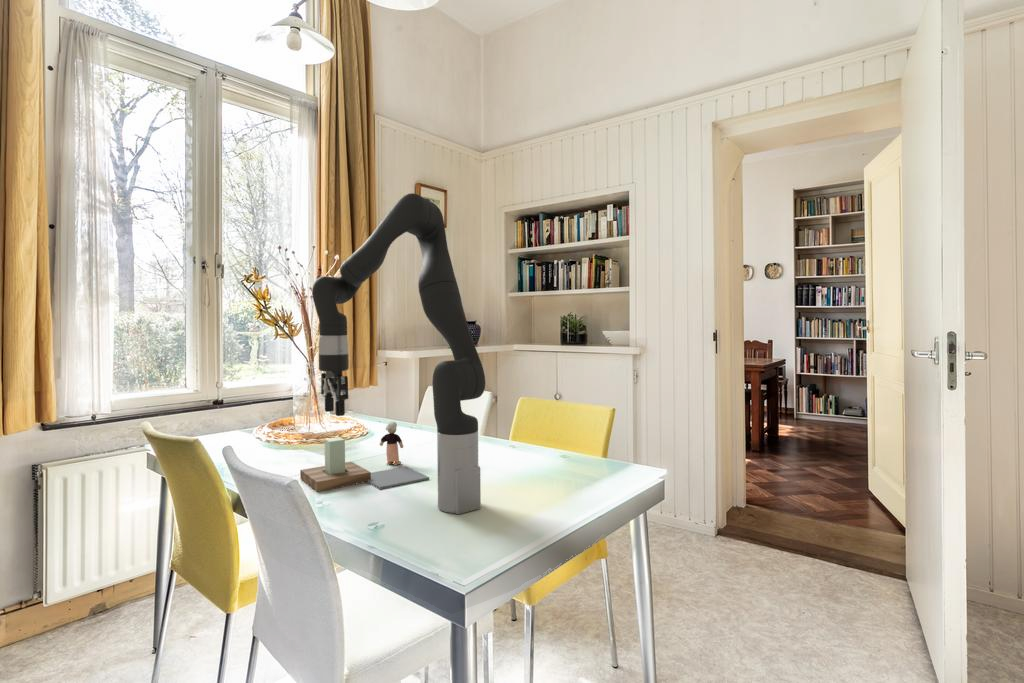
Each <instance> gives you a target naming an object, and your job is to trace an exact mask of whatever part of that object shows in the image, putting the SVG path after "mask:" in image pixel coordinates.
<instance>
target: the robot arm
mask: <svg viewBox="0 0 1024 683" xmlns="http://www.w3.org/2000/svg"><path fill="white" fill-rule="evenodd" d="M405 233H408V234H411V235H413V236H415V237H416V239H417V241H418V244H419V248H420V251H421V254H422V255H421V257H422V264H421V268H420V273H419V277H418V286H417V288H418V293H419V298H420V301H421V306H422V308H423V309H422V310H423V312H424V315H425V316H426V318H427V319H428V320H429V322H430V323H431V324H432V326H433V327H434V328H435V329H436V330H437V331H438V332H439V333H440V335H441V336H442V337H443V338H444V339H445V341H446V343H448V346H449V348H450V350H451V354H452V357H453V360H443V361H440V362H439V363H437V365H436V366H435V368H434V370H433V373H432V374H433V375H432V396H433V397H432V398H433V399H432V400H433V413H434V414H433V415H434V419H435V423H436V431H437V432H436V435H437V438H436V440H437V441H436V443H437V444H436V445H437V447H436V448H437V454H436V455H437V456H436V457H437V459H436V460H437V508H438V509H439V511H442V512H445V513H452V514H455V515H460V514H465V513H469V512H471V511H472V512H473V511H476V510H479V509H481V508H482V507H481V500H482V499H481V498H482V497H481V495H482V494H481V466H480V465H479V421H478V418H477V417H475V416H474V415H470V414H466V413H465V412H464V411H463V410H462V404H461V402H462V401H469V400H475V399H478V398H481V396H482V395H483V394H484V392H485V389H486V376H485V370H484V367H483V364H482V360H481V359H480V358H481V357H480V356H479V353H478V351H477V347H476V345H475V343H474V339H473V337H472V334H471V330H470V327H469V325H468V320H467V317H466V313H465V311H464V310H465V309H464V307H463V301H462V296H461V293H460V289H459V285H458V283H457V279H456V275H455V272H454V268H453V264H452V259H451V256H450V252H449V247H448V242H447V235H446V227H445V221H444V216H443V212H442V211H441V209H440V207H439V206H438V205H437V204H435V203H434V202H432V201H431V200H429V199H428V198H425V197H423V196H422V195H420V194H418V193H414V192H413V193H408V194H404V195H403V196H402V197H400V198H399V200H398V201H397V202H395V204H394V205H393V206H392V207H391V209H390V210H389V211H388V213H387V214H386V215H385V217H384V218H383V219H382V221H380V223H379V224H378V226H377V227H376V228H375V229H374V230H373V232H372V234H370V236H369V237H368V238H367V239H366V240H365V241H364V242H363V244H362V245H361V246H359V247H358V249H356V250H355V251H354V252H353V253H352V254H351V255H350V256H349V257H347V258H346V259H345V260H344V261H343V262H342V263H341V265H340V267H339V272H340V275H339V276H338V277H337V276H329V275H328V276H326V275H325V276H323V275H322V276H319V277H317V279H315V281H314V283H313V286H312V290H311V291H312V300H313V303H314V304H313V305H314V306H315V310H316V311H315V312H316V313H317V317H318V320H319V321H318V326H319V331H318V332H319V333H318V336H319V338H318V370H319V371H320V372H321V374H320V376H321V377H320V380H321V381H320V385H321V386H320V388H321V389H320V393H321V396H323V398H324V411H325V412H327V413H329V412H333V411H334V409H335V412H334V413H335V416H337V417H342V416H345V415H346V410H345V408H346V407H345V406H346V405H345V404H346V403H345V402H346V400H349V381H348V380H349V379H348V378H349V377H348V376H347V375H343V372H344V371H348V370H349V369H350V368H349V366H350V364H349V363H350V362H349V361H350V360H349V356H350V355H349V353H350V352H349V341H348V319H347V316H346V315H345V314H344V313H341V312H339V310H338V307H337V305H342V304H346V303H348V302H349V301H350V300H352V299H353V298H354V296H355V295H356V294H357V292H358V291H359V289H360V288H361V286H362V284H363V283H364V282H365V281H367V280H368V279H369V278H370V277H371V276H372V275H373V274H374V273H376V272H377V271H378V270H379V269H380V268H381V266H382V264H383V263H384V262H385V259H386V256H387V253H388V251H389V248H390V247H391V245H392V244H393V243H394V242H395V240H397V239H398V238H399V237H401V236H402V235H404V234H405ZM334 401H335V402H334ZM334 403H335V404H334ZM334 405H335V408H334Z"/></svg>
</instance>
